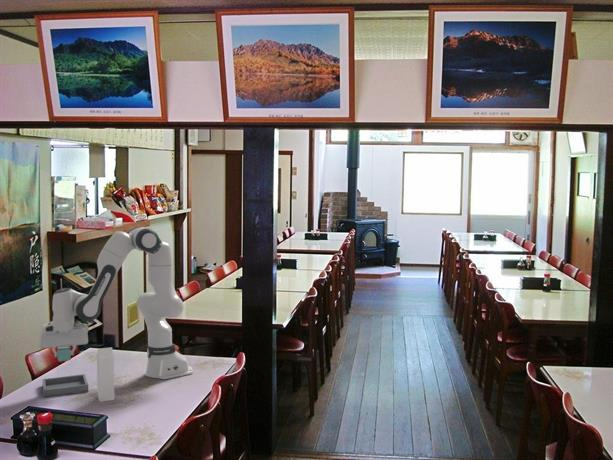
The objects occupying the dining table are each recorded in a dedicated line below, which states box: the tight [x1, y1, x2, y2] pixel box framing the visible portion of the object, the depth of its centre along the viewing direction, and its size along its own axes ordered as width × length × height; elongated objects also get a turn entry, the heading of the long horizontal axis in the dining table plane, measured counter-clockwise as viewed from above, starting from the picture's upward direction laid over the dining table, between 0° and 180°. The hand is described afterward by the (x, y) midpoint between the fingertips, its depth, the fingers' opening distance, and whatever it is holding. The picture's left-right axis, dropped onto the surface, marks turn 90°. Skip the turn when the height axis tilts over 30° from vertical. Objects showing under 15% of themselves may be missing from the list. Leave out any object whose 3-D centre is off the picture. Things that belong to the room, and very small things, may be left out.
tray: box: [42, 373, 89, 398], centre depth 273 cm, size 18×16×3 cm
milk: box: [96, 347, 115, 403], centre depth 261 cm, size 6×6×22 cm
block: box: [57, 346, 72, 362], centre depth 272 cm, size 5×5×5 cm
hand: (64, 355), depth 272 cm, fingers closed on block, 5 cm apart
